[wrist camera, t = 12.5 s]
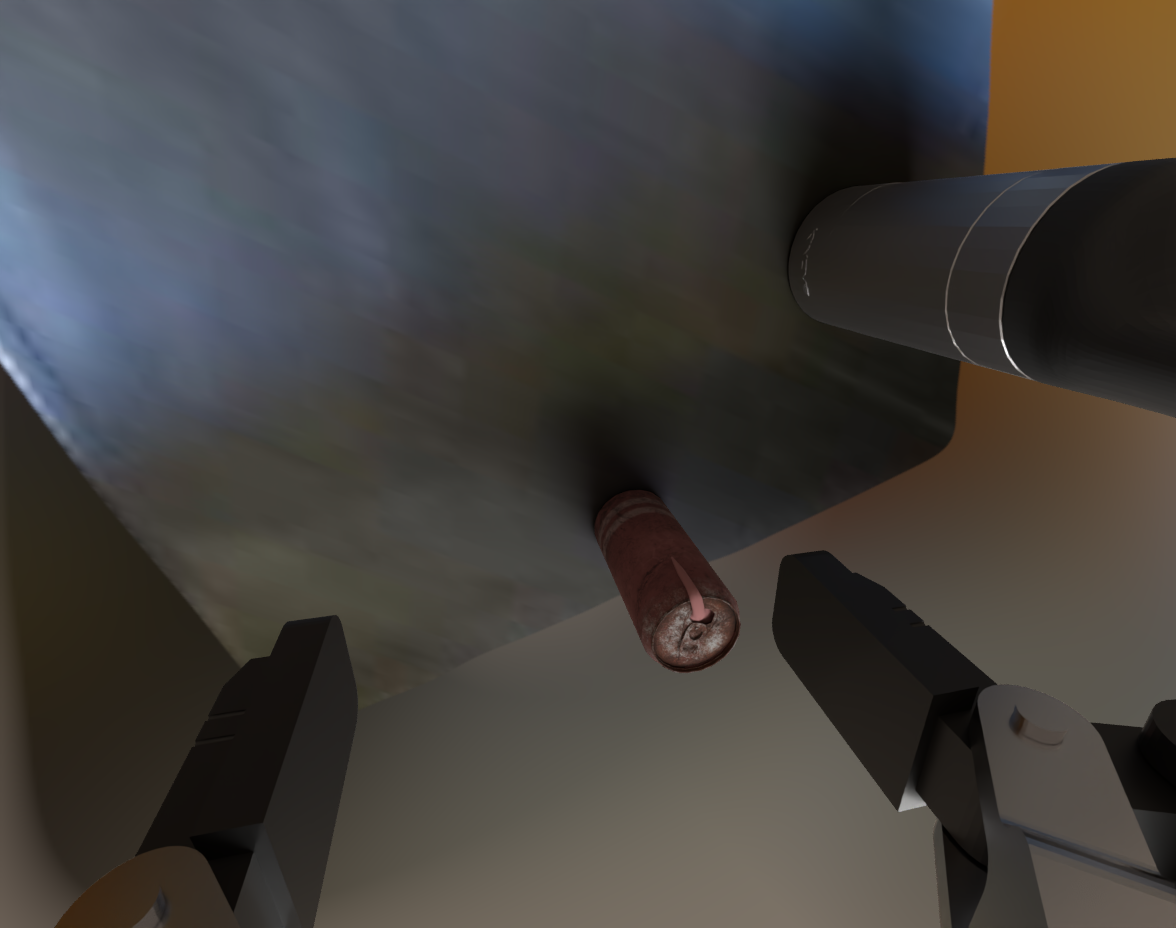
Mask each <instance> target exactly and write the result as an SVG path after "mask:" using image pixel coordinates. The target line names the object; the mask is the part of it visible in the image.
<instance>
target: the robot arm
mask: <svg viewBox="0 0 1176 928" xmlns="http://www.w3.org/2000/svg"><path fill="white" fill-rule="evenodd" d="M789 281H790V287H791V290H792V293H793V295H794V298H795V300H796V302H797V303H798V305H799V306H800V307H801V309H802V310H803V311H804V312H805V313H806V314H808V315H809V316H810V317H811V318H813V319H815V320H818V321H820V322H822V323H826V324H830V325H833V326H837V327H841V328H844V329H848V330H852V331H854V332H858V333H862V334H865V335H869V336H873V337H876V338H880V339H884V340H887V341H891V342H894V343H898V344H902V345H905V346H909V347H913V348H916V349H920V350H924V351H927V352H931V353H935V354H938V355H942V356H946V357H949V358H953V359H957V360H960V361H964V362H968V363H971V364H975V365H979V366H982V367H986V368H991V369H994V370H998V371H1002V372H1005V373H1009V374H1013V375H1016V376H1020V377H1024V378H1027V379H1031V380H1035V381H1038V382H1041V383H1045V384H1048V385H1052V386H1056V387H1060V388H1064V389H1069V390H1072V391H1076V392H1081V393H1085V394H1089V395H1093V396H1097V397H1101V398H1105V399H1109V400H1113V401H1117V402H1121V403H1125V404H1128V405H1132V406H1136V407H1139V408H1143V409H1147V410H1150V411H1154V412H1158V413H1161V414H1165V415H1168V416H1172V417H1175V418H1176V158H1168V159H1156V160H1144V161H1133V162H1125V163H1113V164H1101V165H1091V166H1079V167H1068V168H1059V169H1050V170H1038V171H1027V172H1015V173H1004V174H993V175H981V176H970V177H959V178H947V179H936V180H925V181H913V182H902V183H901V182H900V183H887V184H876V185H865V186H853V187H849V188H846V189H842V190H839V191H837V192H835V193H833V194H831V195H829V196H827V197H826V198H825V199H824V200H822V201H821V202H820V203H819V204H818V205H816V206H815V207H814V209H813V210H812V211H811V212H810V213H809V214H808V216H807V217H806V218H805V220H804V221H803V223H802V225H801V226H800V228H799V230H798V231H797V234H796V237H795V239H794V242H793V244H792V248H791V253H790V258H789ZM772 628H773V635H774V639H775V642H776V645H777V647H778V649H779V651H780V653H781V654H782V656H783V657H784V659H785V660H786V661H787V663H788V664H789V665H790V667H791V668H792V669H793V671H794V672H795V674H796V675H797V676H798V678H799V679H800V680H801V682H802V683H803V684H804V686H805V687H806V688H807V690H808V691H809V692H810V694H811V695H812V696H813V698H814V699H815V701H816V702H817V703H818V705H819V706H820V707H821V709H822V710H823V711H824V713H825V714H826V715H827V717H828V718H829V719H830V721H831V722H832V723H833V725H834V726H835V728H836V729H837V730H838V732H839V733H840V734H841V736H842V737H843V738H844V740H845V741H846V742H847V744H848V745H849V746H850V748H851V749H852V750H853V752H854V753H855V755H856V756H857V757H858V759H859V760H860V761H861V763H862V764H863V765H864V767H865V768H866V769H867V771H868V772H869V773H870V775H871V776H872V777H873V779H874V780H875V781H876V783H877V784H878V786H879V787H880V788H881V789H882V791H883V792H884V794H885V795H886V796H887V798H888V799H889V800H890V802H891V803H892V805H893V806H894V807H895V809H896V810H897V811H898V812H900V811H905V810H909V809H913V808H917V807H922V806H926V805H927V806H928V807H929V808H930V809H931V811H932V812H933V813H934V814H935V816H936V817H937V818H936V821H935V824H934V827H933V843H934V855H935V868H936V880H937V891H938V903H939V916H940V927H941V928H1176V700H1166V701H1161V702H1160V703H1158V704H1156V705H1155V707H1154V708H1153V709H1152V711H1151V713H1150V715H1149V717H1148V719H1147V721H1146V723H1145V725H1144V727H1143V728H1141V727H1131V726H1122V725H1110V724H1101V723H1090V722H1089V721H1088V720H1087V719H1086V718H1084V717H1083V716H1082V715H1081V714H1080V713H1078V712H1077V711H1075V710H1074V709H1072V708H1071V707H1070V706H1068V705H1066V704H1065V703H1063V702H1061V701H1060V700H1058V699H1056V698H1054V697H1051V696H1049V695H1047V694H1045V693H1042V692H1039V691H1037V690H1034V689H1030V688H1027V687H1022V686H1018V685H1009V684H1004V685H1002V684H1001V685H997V684H996V683H995V682H994V681H993V680H992V679H990V678H989V677H988V676H987V675H986V674H985V673H983V672H982V671H981V670H980V669H979V668H978V667H976V666H975V665H974V664H973V663H972V662H971V661H970V660H968V659H967V658H966V657H965V656H964V655H963V654H961V653H960V652H959V651H958V650H957V649H956V648H954V647H953V646H952V645H951V644H949V642H947V641H946V640H945V639H944V638H943V637H942V636H941V635H939V634H938V633H937V632H936V631H935V630H933V629H932V628H931V627H930V626H929V625H928V626H925V624H924V621H923V620H922V619H921V618H920V617H918V616H917V615H916V614H915V613H914V612H913V611H912V610H907V609H906V605H905V604H903V603H902V602H901V601H900V600H899V599H898V598H896V597H895V596H894V595H893V594H892V593H891V592H889V591H888V590H887V589H886V588H885V587H883V586H881V585H879V584H877V583H875V582H873V581H871V580H869V579H867V578H865V577H864V576H862V575H860V574H858V573H852V572H851V571H850V570H848V569H847V568H846V567H845V566H844V565H843V564H842V563H841V562H840V561H838V560H837V559H836V558H835V557H834V556H833V555H832V554H830V553H829V552H827V551H824V550H823V551H816V552H807V553H800V554H793V555H787V556H785V557H784V558H783V559H782V561H781V564H780V569H779V577H778V583H777V590H776V598H775V604H774V612H773V618H772ZM357 714H358V696H357V687H356V682H355V678H354V674H353V670H352V665H351V661H350V657H349V653H348V649H347V644H346V640H345V636H344V632H343V628H342V624H341V621H340V619H339V617H338V616H336V615H333V616H326V617H318V618H311V619H303V620H296V621H289V622H287V623H286V624H285V625H284V626H283V628H282V630H281V633H280V635H279V637H278V639H277V642H276V644H275V646H274V648H273V651H272V653H271V655H270V656H268V657H262V658H255V659H250V660H249V661H248V662H247V663H246V664H245V665H244V666H243V667H242V668H241V669H240V670H239V671H238V672H237V673H236V674H235V675H234V676H233V677H232V678H231V679H230V680H229V681H228V682H227V683H226V684H225V685H224V686H223V688H222V690H221V692H220V694H219V696H218V698H217V700H216V702H215V704H214V706H213V707H212V709H211V711H210V713H209V719H208V721H205V723H204V725H203V727H202V729H201V731H200V733H199V734H198V736H197V738H196V745H195V747H192V748H191V750H190V752H189V754H188V756H187V758H186V760H185V761H184V764H183V765H182V767H181V769H180V771H179V773H178V775H177V777H176V779H175V781H174V783H173V785H172V787H171V789H170V790H169V793H168V794H167V796H166V798H165V800H164V802H163V804H162V806H161V808H160V810H159V812H158V814H157V816H156V818H155V819H154V821H153V824H152V825H151V827H150V829H149V831H148V833H147V835H146V837H145V839H144V841H143V843H142V845H141V847H140V848H139V850H138V852H137V854H136V855H135V857H134V858H132V859H130V860H128V861H126V862H124V863H123V864H121V865H119V866H117V867H116V868H114V869H113V870H111V871H110V872H108V873H107V874H106V875H104V876H103V877H101V878H100V879H99V880H98V881H96V882H95V883H94V884H93V885H92V886H90V887H89V888H88V889H87V890H86V891H85V892H84V893H83V894H82V895H81V896H80V897H79V898H78V899H77V900H76V901H75V902H74V903H73V904H72V905H71V906H70V908H69V909H68V910H67V911H66V912H65V913H64V914H63V916H62V917H61V919H60V920H59V922H58V923H57V925H56V926H55V927H54V928H313V926H314V922H315V917H316V912H317V907H318V902H319V898H320V893H321V889H322V884H323V879H324V874H325V870H326V865H327V860H328V855H329V851H330V846H331V841H332V836H333V832H334V827H335V823H336V818H337V813H338V808H339V804H340V799H341V794H342V789H343V785H344V780H345V775H346V771H347V765H348V762H349V757H350V752H351V747H352V743H353V738H354V733H355V728H356V723H357Z"/></svg>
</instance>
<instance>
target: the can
mask: <svg viewBox="0 0 1176 928" xmlns="http://www.w3.org/2000/svg"><path fill="white" fill-rule="evenodd" d="M595 536H596V539H597V542H598V544H599V547H600V549H601V551H602V553H603V556H604V558H605V560H606V562H607V565H608V567H609V569H610V571H611V574H612V576H613V578H614V581H615V583H616V585H617V587H618V590H619V592H620V594H621V596H622V598H623V601H624V603H625V605H626V608H627V610H628V612H629V614H630V617H631V619H632V621H633V624H634V626H635V628H636V630H637V633H638V635H639V637H640V639H641V642H642V644H643V646H644V648H645V651H646V652H647V653H648V654H649V655H650V656H651V657H652V658H653V659H654V660H655V661H656V662H658V663H660V664H661V665H662V666H663V667H664V668H667V669H669V670H671V671H673V672H679V673H691V672H697V671H701V670H704V669H706V668H708V667H711V666H713V665H714V664H716V663H717V662H719V661H720V660H722V659H723V658H724V657H725V656H726V655H727V654H728V653H729V652H730V650H731V649H732V648H733V647H734V645H735V643H736V641H737V639H738V637H739V633H740V626H741V623H740V619H739V609H738V605H737V601H736V600H735V599H734V597H733V596H732V595H731V593H730V592H729V590H728V589H727V588H726V586H725V585H724V584H723V582H722V581H721V580H720V578H719V577H718V576H717V574H716V573H715V571H714V570H713V569H712V567H711V566H710V565H709V563H708V562H707V561H706V559H705V558H704V557H703V555H702V554H701V552H700V551H699V550H698V548H697V547H696V546H695V544H694V543H693V542H692V540H691V539H690V538H689V536H688V535H687V534H686V532H685V531H684V529H683V528H682V527H681V525H680V524H679V523H678V521H677V520H676V519H675V517H674V516H673V515H672V513H671V512H670V511H669V509H668V508H667V506H666V505H665V504H664V503H663V501H662V500H661V499H660V497H658V496H656V495H655V494H653V493H651V492H648V491H644V490H630V491H626V492H623V493H620V494H618V495H616V496H614V497H613V498H612V499H610V500H609V501H608V502H606V503H605V505H604V506H603V507H602V509H601V510H600V511H599V513H598V516H597V518H596V521H595Z"/></svg>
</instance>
